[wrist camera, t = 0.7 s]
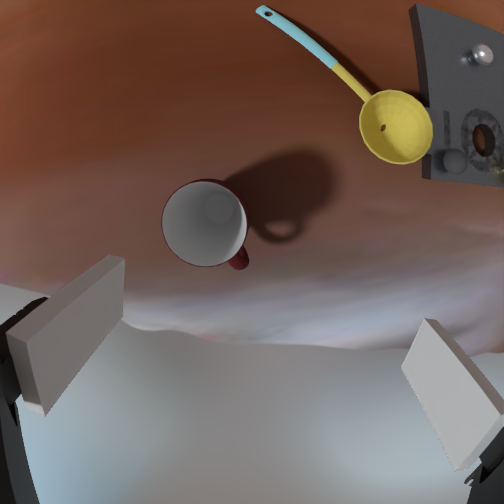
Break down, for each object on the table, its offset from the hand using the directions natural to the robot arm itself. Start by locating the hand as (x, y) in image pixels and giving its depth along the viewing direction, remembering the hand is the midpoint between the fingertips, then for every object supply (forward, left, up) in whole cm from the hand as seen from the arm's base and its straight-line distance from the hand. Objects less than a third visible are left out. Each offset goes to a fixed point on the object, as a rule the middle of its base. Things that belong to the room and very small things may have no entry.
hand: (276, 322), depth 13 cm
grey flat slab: (-17, +29, -27) cm, 42 cm away
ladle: (-17, +9, -27) cm, 33 cm away
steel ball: (-23, +29, -22) cm, 43 cm away
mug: (0, -5, -27) cm, 27 cm away
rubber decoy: (-7, +22, -22) cm, 32 cm away
